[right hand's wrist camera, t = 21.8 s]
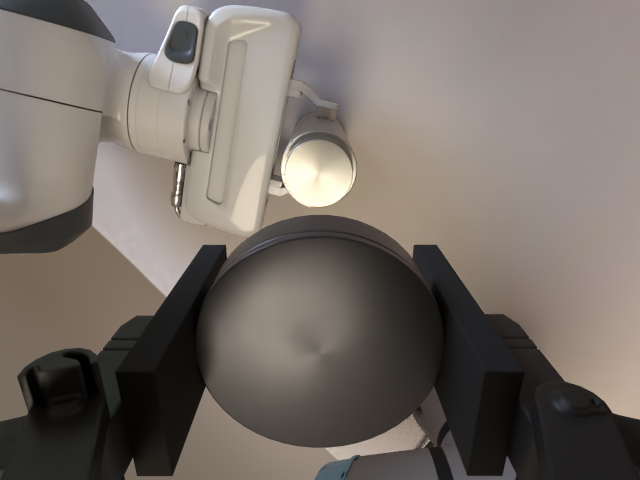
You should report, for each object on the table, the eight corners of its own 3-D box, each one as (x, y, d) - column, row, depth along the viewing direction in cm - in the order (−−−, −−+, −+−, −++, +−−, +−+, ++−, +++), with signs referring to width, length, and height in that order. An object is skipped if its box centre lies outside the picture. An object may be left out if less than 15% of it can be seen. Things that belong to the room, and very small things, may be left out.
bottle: (303, 103, 44) (293, 121, 27) (351, 121, 45) (371, 150, 28) (287, 152, 46) (268, 197, 29) (333, 169, 47) (341, 223, 30)
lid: (427, 399, 13) (441, 442, 12) (227, 410, 13) (215, 454, 12) (432, 206, 11) (451, 227, 9) (191, 222, 11) (171, 245, 10)
